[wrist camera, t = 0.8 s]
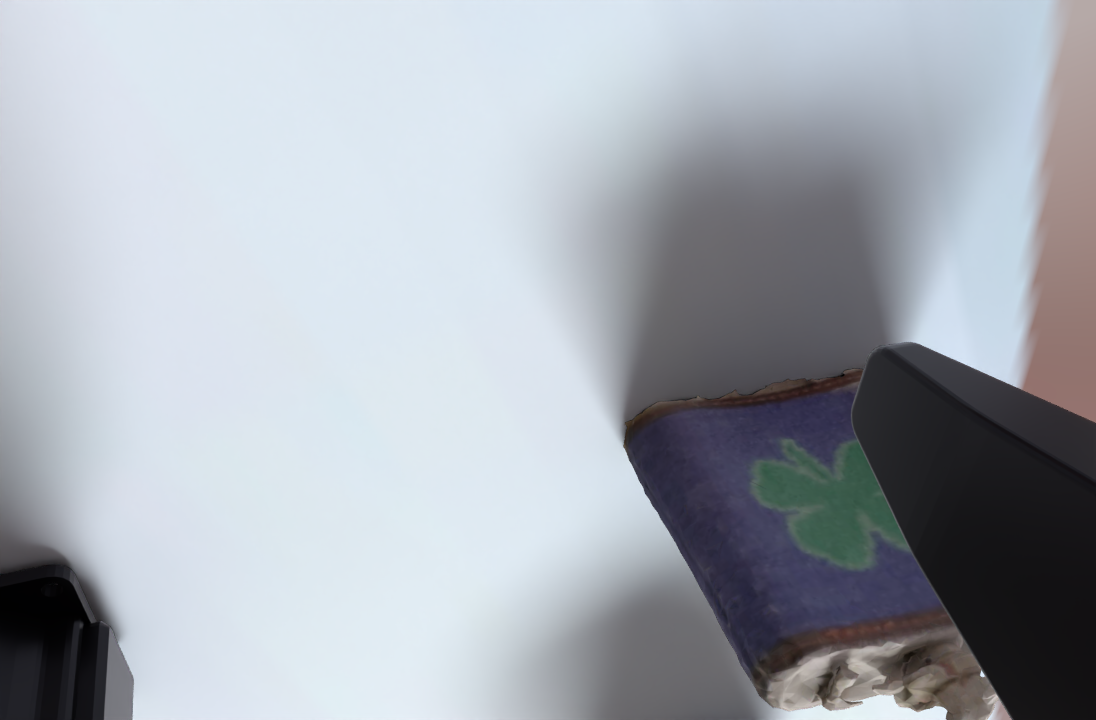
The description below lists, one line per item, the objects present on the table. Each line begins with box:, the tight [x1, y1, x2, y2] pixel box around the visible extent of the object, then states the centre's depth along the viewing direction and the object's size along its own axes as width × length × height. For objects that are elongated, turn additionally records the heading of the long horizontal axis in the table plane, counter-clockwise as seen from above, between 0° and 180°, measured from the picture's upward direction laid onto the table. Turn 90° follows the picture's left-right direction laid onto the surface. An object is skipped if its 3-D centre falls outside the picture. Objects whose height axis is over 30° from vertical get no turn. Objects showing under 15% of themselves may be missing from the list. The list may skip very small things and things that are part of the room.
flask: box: [623, 368, 999, 720], centre depth 26 cm, size 9×3×11 cm, turn 87°
